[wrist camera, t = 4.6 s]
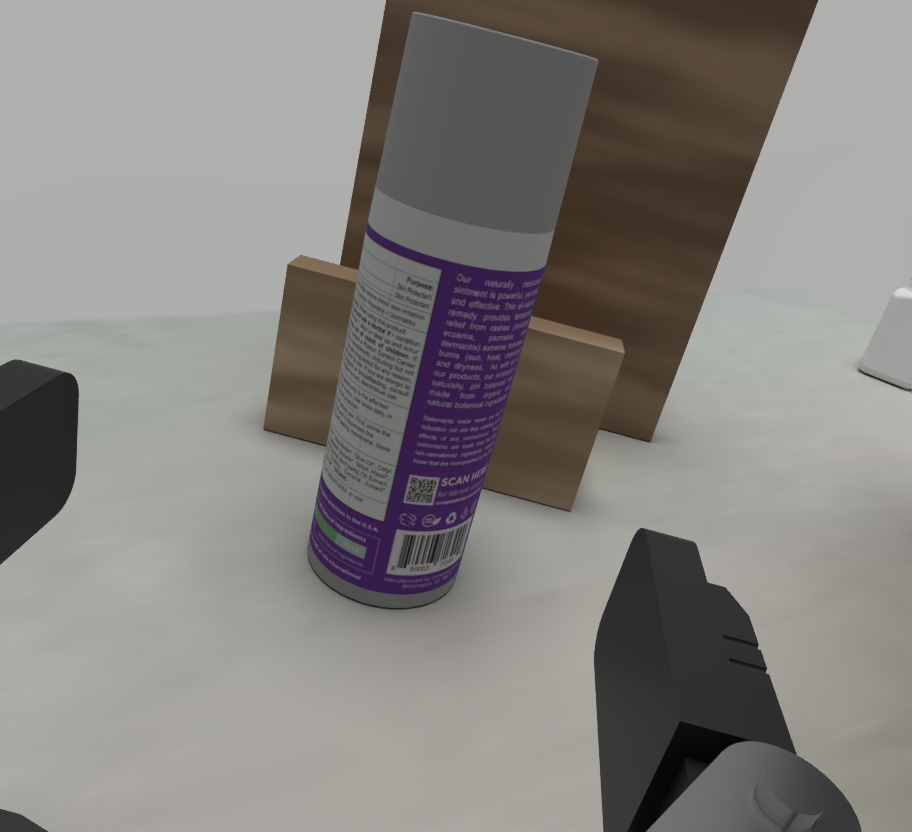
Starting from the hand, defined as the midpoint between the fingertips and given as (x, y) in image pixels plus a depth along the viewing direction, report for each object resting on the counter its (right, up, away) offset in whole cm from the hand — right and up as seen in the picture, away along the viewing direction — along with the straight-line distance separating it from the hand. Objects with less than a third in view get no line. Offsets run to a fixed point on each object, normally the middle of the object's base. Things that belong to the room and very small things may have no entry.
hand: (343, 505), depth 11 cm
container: (-1, -3, +14) cm, 14 cm away
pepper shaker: (+33, +4, +48) cm, 58 cm away
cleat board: (+3, +1, +23) cm, 24 cm away
